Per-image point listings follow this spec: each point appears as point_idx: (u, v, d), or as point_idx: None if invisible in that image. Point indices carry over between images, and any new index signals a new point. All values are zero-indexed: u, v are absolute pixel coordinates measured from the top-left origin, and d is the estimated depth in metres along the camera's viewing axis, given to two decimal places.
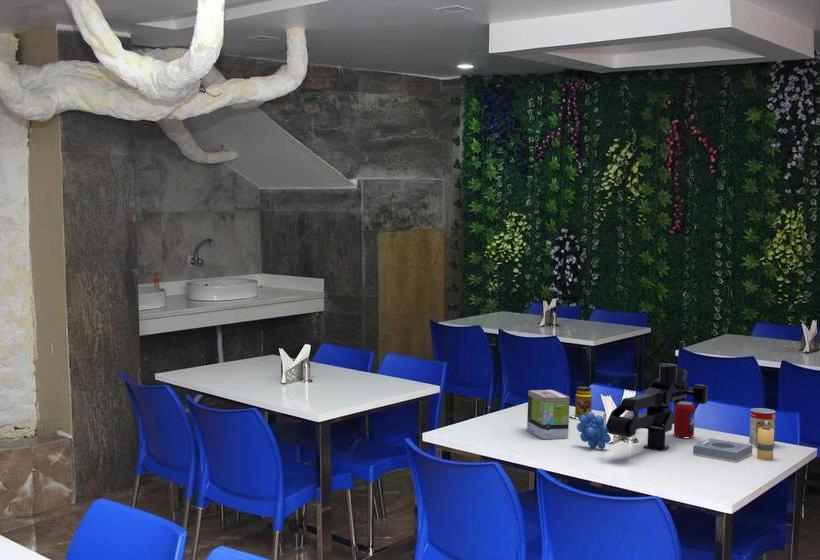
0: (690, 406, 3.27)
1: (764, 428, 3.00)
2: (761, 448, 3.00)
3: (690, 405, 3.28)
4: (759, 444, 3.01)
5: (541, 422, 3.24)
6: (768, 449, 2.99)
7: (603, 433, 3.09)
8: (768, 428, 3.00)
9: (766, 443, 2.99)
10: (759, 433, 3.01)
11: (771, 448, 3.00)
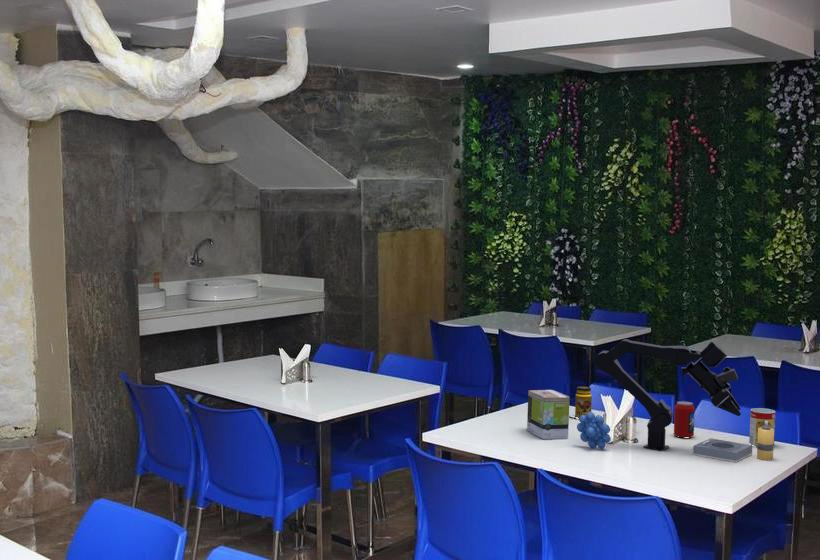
0: (689, 406, 3.27)
1: (764, 428, 3.00)
2: (761, 448, 3.00)
3: (690, 405, 3.28)
4: (759, 444, 3.01)
5: (541, 422, 3.24)
6: (768, 449, 2.99)
7: (603, 433, 3.09)
8: (768, 428, 3.00)
9: (766, 443, 2.99)
10: (759, 433, 3.01)
11: (771, 448, 3.00)
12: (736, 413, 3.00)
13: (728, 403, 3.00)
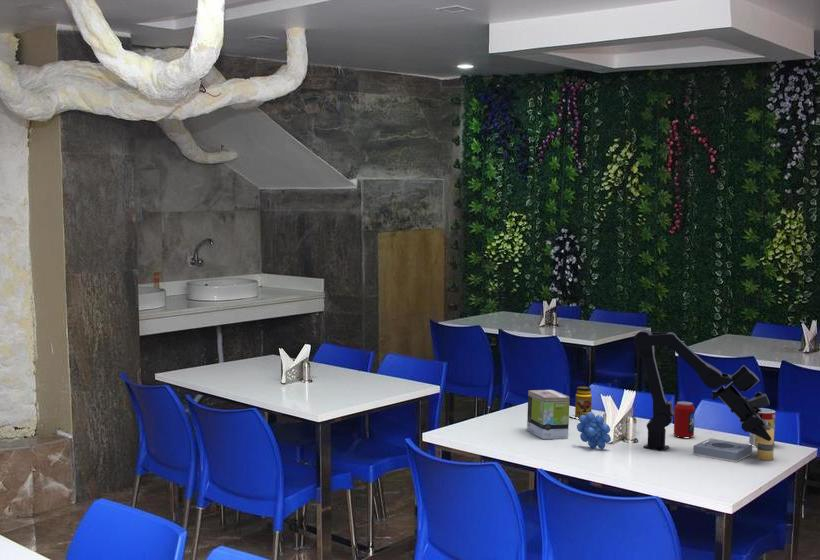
0: (689, 406, 3.27)
1: None
2: (761, 448, 3.00)
3: (690, 405, 3.28)
4: (759, 444, 3.01)
5: (541, 422, 3.24)
6: (768, 449, 2.99)
7: (603, 433, 3.09)
8: (768, 428, 3.00)
9: (766, 442, 2.99)
10: None
11: (771, 448, 3.00)
12: (767, 438, 2.99)
13: (759, 428, 2.99)
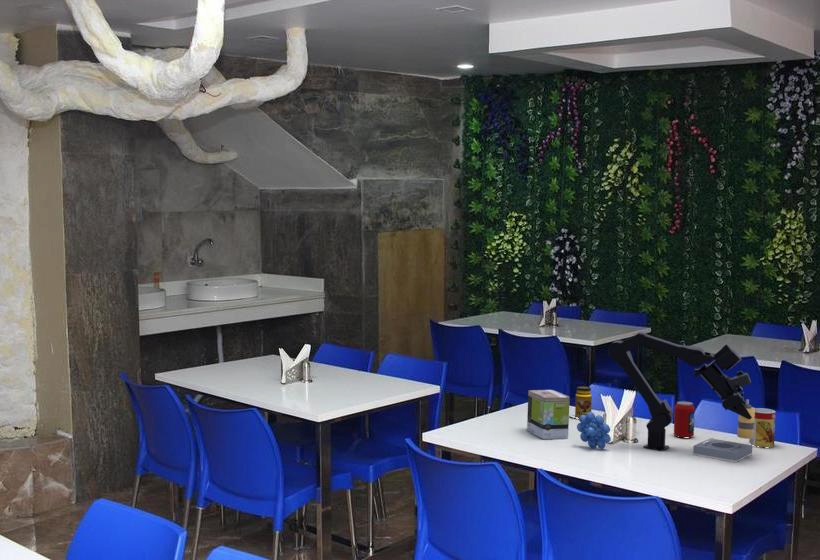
0: (689, 406, 3.27)
1: None
2: (741, 427, 3.02)
3: (690, 405, 3.28)
4: (740, 422, 3.02)
5: (541, 422, 3.24)
6: (748, 427, 3.01)
7: (603, 433, 3.09)
8: (749, 407, 3.02)
9: (746, 421, 3.01)
10: None
11: (751, 427, 3.01)
12: (747, 417, 3.00)
13: (739, 406, 3.00)
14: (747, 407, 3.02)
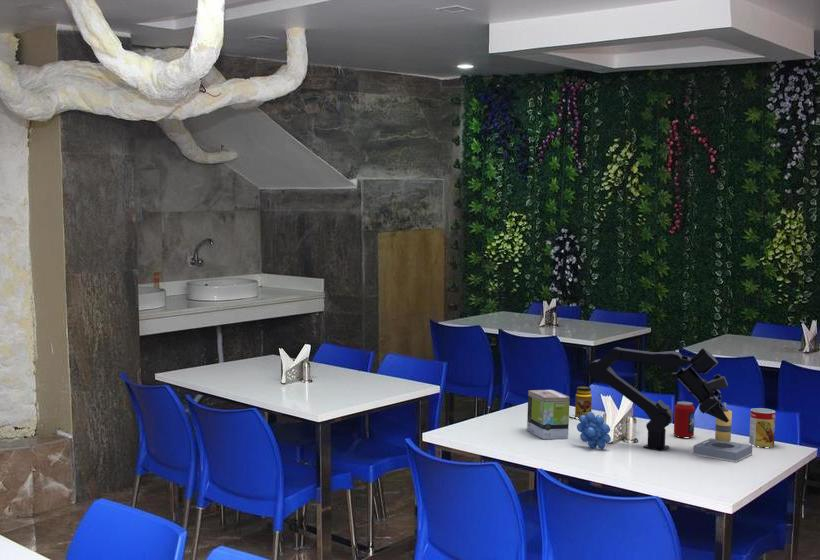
0: (690, 406, 3.27)
1: None
2: (719, 429, 3.04)
3: (690, 405, 3.28)
4: (717, 425, 3.05)
5: (541, 422, 3.24)
6: (726, 430, 3.03)
7: (603, 433, 3.09)
8: (726, 410, 3.04)
9: (723, 424, 3.03)
10: None
11: (729, 429, 3.04)
12: (724, 420, 3.02)
13: (716, 409, 3.03)
14: (724, 410, 3.04)
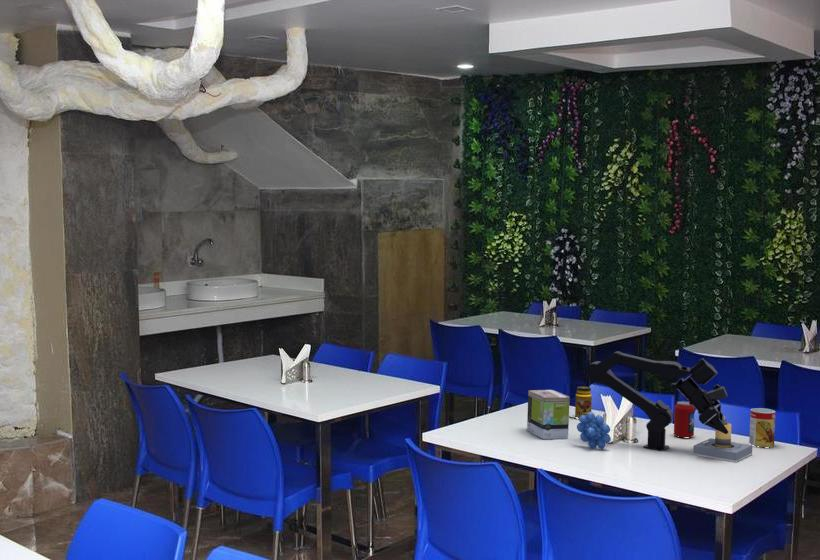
0: (689, 406, 3.27)
1: None
2: (718, 443, 3.04)
3: (690, 405, 3.28)
4: (716, 439, 3.05)
5: (541, 422, 3.24)
6: (725, 444, 3.04)
7: (603, 433, 3.09)
8: (725, 423, 3.04)
9: (723, 437, 3.04)
10: None
11: (728, 443, 3.04)
12: (724, 431, 3.01)
13: (716, 421, 3.01)
14: (723, 423, 3.04)
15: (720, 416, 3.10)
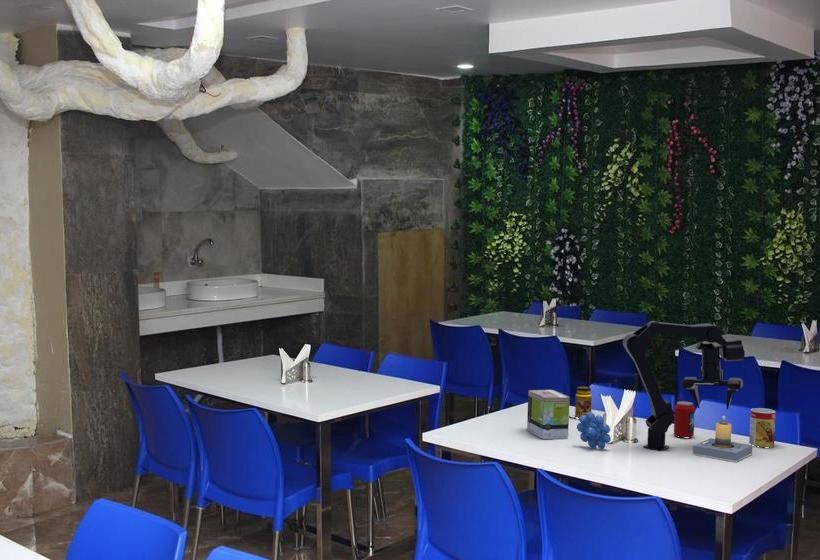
0: (690, 406, 3.27)
1: (721, 423, 3.05)
2: (718, 443, 3.04)
3: (690, 405, 3.28)
4: (716, 439, 3.05)
5: (541, 422, 3.24)
6: (725, 444, 3.04)
7: (603, 433, 3.09)
8: (725, 423, 3.04)
9: (723, 437, 3.04)
10: (716, 428, 3.05)
11: (728, 443, 3.04)
12: (728, 406, 3.10)
13: None
14: (723, 423, 3.04)
15: (697, 395, 3.15)
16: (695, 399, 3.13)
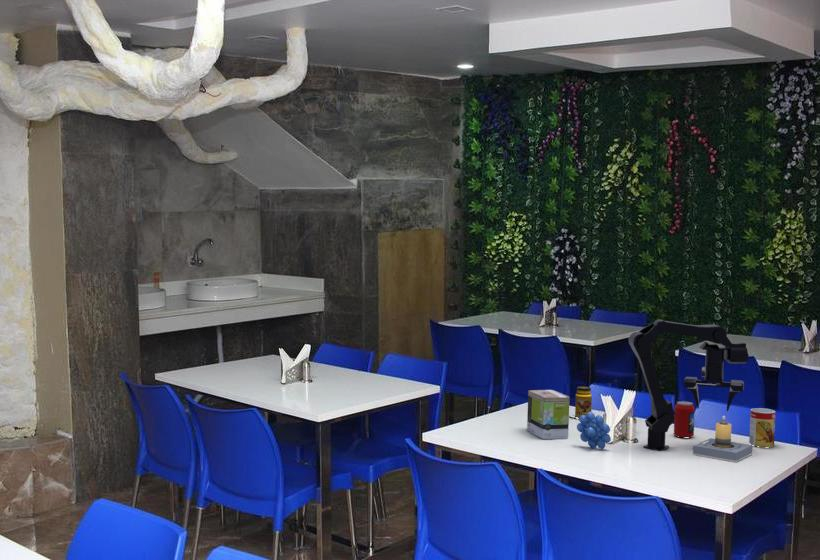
0: (689, 406, 3.27)
1: (721, 423, 3.05)
2: (718, 443, 3.04)
3: (690, 405, 3.28)
4: (716, 439, 3.05)
5: (541, 422, 3.24)
6: (725, 444, 3.04)
7: (603, 433, 3.09)
8: (725, 423, 3.04)
9: (723, 437, 3.04)
10: (716, 428, 3.05)
11: (728, 443, 3.04)
12: None
13: None
14: (723, 423, 3.04)
15: None
16: (696, 399, 3.13)
